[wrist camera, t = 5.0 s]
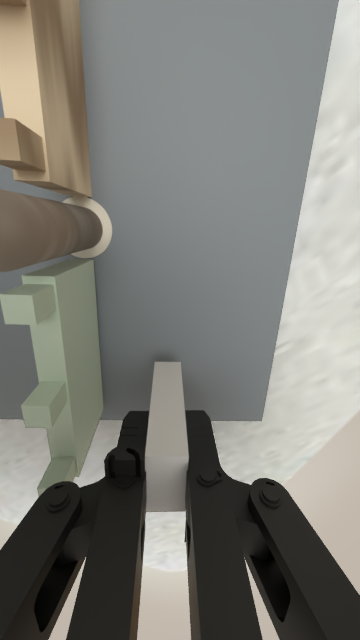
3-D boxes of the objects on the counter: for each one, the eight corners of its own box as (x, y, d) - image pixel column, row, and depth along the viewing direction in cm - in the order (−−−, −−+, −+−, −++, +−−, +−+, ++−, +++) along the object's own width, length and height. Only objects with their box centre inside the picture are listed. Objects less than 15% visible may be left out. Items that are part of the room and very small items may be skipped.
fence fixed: (104, 249, 15) (40, 273, 8) (64, 248, 15) (-40, 270, 7) (86, -75, 11) (-100, -750, 3) (30, -81, 10) (-295, -796, 3)
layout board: (-71, 413, 19) (-79, 419, 18) (-264, -149, 10) (-290, -172, 9) (259, 416, 20) (262, 421, 19) (348, -83, 11) (358, -100, 11)
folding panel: (71, 258, 14) (-7, 284, 8) (93, 259, 15) (33, 286, 8) (85, 408, 18) (39, 509, 11) (103, 408, 18) (67, 509, 12)
